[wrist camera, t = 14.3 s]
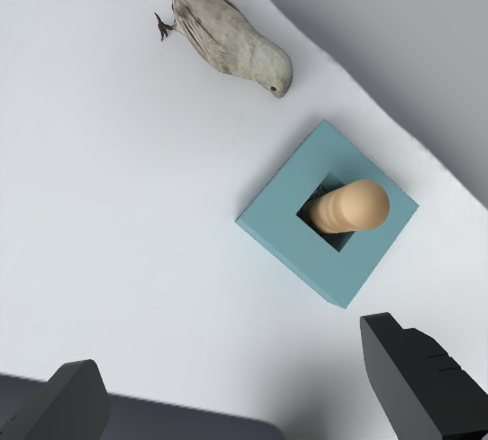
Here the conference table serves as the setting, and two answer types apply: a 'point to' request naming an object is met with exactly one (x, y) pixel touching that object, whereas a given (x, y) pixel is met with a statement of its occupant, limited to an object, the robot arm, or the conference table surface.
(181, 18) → the decorative bird
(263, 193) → the socket block
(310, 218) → the peg
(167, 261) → the conference table surface
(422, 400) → the robot arm
